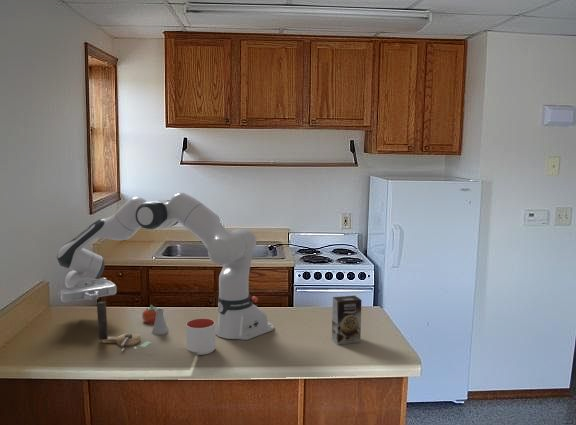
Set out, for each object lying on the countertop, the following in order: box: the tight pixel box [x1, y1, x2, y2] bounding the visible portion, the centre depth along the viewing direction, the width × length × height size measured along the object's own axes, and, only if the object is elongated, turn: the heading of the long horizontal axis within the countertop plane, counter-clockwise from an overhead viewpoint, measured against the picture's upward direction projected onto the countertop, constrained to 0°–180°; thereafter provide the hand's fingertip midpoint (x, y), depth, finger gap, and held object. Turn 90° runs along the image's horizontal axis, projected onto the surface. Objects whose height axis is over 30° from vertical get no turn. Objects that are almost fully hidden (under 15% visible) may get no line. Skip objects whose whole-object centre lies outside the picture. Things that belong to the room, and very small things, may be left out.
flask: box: [151, 307, 169, 335], centre depth 198 cm, size 7×7×10 cm
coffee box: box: [331, 294, 362, 346], centre depth 193 cm, size 9×6×16 cm
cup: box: [185, 317, 217, 356], centre depth 184 cm, size 10×10×10 cm
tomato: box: [141, 304, 158, 324], centre depth 210 cm, size 7×7×8 cm
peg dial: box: [96, 301, 141, 347], centre depth 186 cm, size 14×12×14 cm
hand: (94, 297), depth 198 cm, fingers closed
